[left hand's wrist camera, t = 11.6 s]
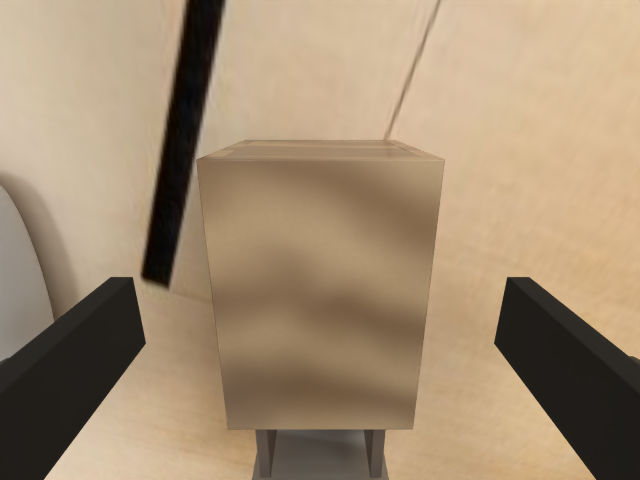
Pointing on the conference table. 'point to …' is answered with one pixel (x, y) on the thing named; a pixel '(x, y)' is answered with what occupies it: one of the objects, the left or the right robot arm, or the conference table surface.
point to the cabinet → (320, 279)
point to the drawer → (320, 454)
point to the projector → (19, 283)
